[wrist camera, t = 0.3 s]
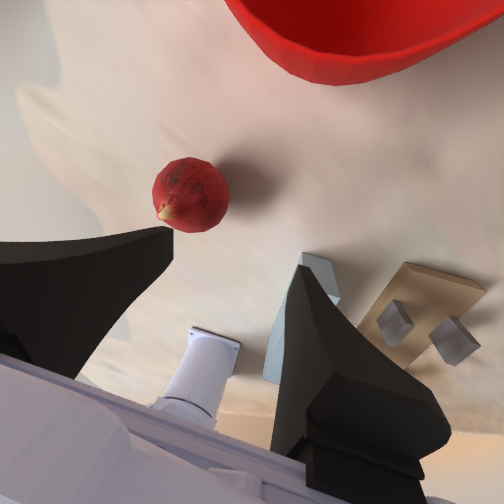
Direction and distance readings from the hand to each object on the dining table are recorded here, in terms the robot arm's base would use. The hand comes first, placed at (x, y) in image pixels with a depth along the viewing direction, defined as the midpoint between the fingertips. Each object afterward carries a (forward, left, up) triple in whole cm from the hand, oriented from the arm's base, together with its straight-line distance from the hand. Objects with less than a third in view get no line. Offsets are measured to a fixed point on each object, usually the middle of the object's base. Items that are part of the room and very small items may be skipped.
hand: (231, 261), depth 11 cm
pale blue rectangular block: (-10, -7, -10) cm, 16 cm away
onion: (+1, +5, -10) cm, 11 cm away
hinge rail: (-11, -18, -10) cm, 23 cm away
